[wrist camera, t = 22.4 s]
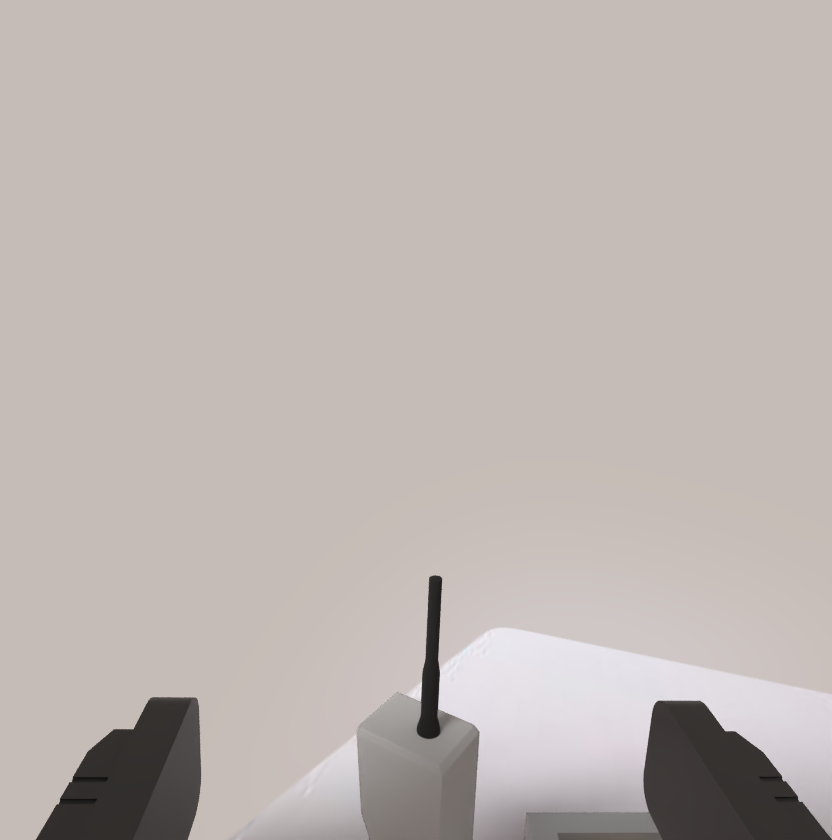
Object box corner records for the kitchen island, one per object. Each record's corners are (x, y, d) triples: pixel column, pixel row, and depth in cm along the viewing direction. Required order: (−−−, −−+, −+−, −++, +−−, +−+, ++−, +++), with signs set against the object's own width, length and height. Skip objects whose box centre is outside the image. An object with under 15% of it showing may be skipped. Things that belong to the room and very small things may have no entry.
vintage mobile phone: (389, 941, 40) (403, 546, 35) (462, 989, 38) (490, 572, 32) (349, 995, 37) (358, 571, 32) (427, 1052, 35) (451, 602, 29)
